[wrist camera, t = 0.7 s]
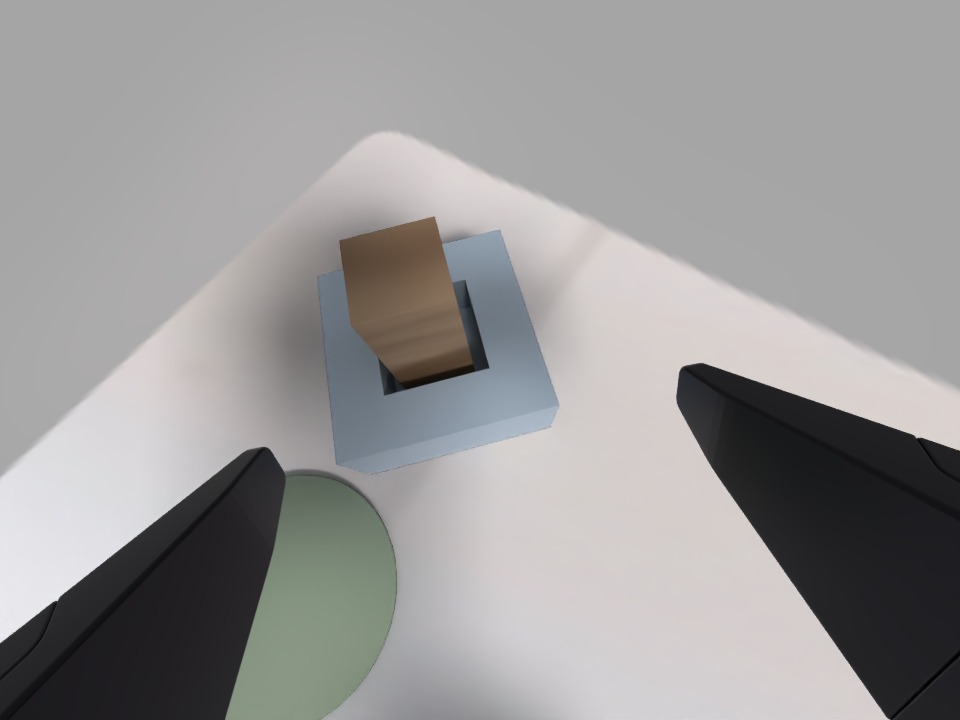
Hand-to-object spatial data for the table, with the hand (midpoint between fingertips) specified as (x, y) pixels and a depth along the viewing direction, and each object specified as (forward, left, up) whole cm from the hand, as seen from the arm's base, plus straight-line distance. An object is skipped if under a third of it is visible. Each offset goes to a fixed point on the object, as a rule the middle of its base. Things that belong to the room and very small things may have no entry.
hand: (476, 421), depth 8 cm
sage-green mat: (-7, +11, -15) cm, 20 cm away
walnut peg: (+6, +5, -13) cm, 15 cm away
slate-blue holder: (+6, +5, -15) cm, 17 cm away
